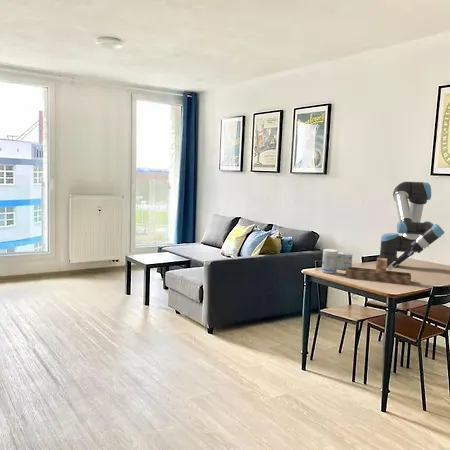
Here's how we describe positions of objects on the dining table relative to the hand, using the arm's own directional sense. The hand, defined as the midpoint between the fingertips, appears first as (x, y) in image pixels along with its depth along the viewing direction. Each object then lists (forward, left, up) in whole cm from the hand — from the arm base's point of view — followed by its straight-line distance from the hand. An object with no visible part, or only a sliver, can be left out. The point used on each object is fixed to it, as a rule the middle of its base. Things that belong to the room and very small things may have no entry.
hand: (388, 268), depth 294 cm
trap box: (+5, -3, -7) cm, 9 cm away
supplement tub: (+29, -23, -8) cm, 38 cm away
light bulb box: (+14, -35, -8) cm, 39 cm away
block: (+4, -3, -4) cm, 6 cm away
